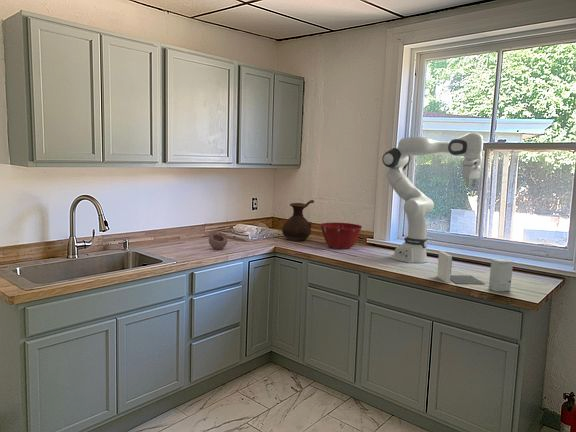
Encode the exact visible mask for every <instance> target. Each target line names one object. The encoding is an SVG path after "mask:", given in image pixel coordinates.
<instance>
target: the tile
mask: <svg viewBox="0 0 576 432" xmlns="http://www.w3.org/2000/svg"><path fill="white" fill-rule="evenodd" d="M437 261H438V262H437V272H436V273H437V274H436V277H437V278H438V279H440V280H441V281H442V280H443V282H444V283H445V284H450V283H451V275H452V269H453V268H452V266H453V256H452V255H451V254H449V253H447V252H446V251H443V250H439V251H438V258H437Z"/></svg>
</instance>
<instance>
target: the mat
mask: <svg viewBox="0 0 576 432" xmlns="http://www.w3.org/2000/svg"><path fill="white" fill-rule="evenodd" d="M450 282H453V283H454V284H456V285H486V283H485V282H482V281H481V280H479V279H478V278H476V277H474V276H472V275H467V274H466V275H464V274H463V275H461V274H460V275H459V274H458V275H454V274H453V275H452V274H451V280H450Z"/></svg>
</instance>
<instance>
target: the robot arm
mask: <svg viewBox="0 0 576 432" xmlns="http://www.w3.org/2000/svg"><path fill="white" fill-rule="evenodd" d="M483 139H484V138H483V135H482V134H480V133H478V132H472V131H471V132H467V133H466V134H464V135H462V136H460V137H458V138H457V137H456V138H454V139H451V140H450V141H440V140H436V139H431V138H427V137H423V136H409V137H408V136H407V137H403V138H401V139H400V140H399V141H398V144H397V147H393V148H391V149H390V150H387V151H386V152H385V153H384V154H383V155H382V164H383V165H384V166H385V167H387V168H388V169H387V170H386V172H385V179H386V180H387V182H388V183H389V185H390V187H391V188H392V189H393V191H394V192H395V193H396V194H397V196H398V197H399V198H400V199H402V200H404V201H405V202H404V205H403V211H404V213H405V214H406V217H407V225H408V226H407V227H408V228H407V237H406V236H405V237H404V238H403V241H404V242H403V243H402V244H400V245H398V246H397V247H396V248H395V249H394V253H393V254H391V255H390V259H393V260H397V261H402V262H404V263H414V264H416V263H418V264H420V263H422V264H423V263H427V262H428V257H427V245H428V238H427V235H428V234H427V233H428V225H427V223H426V218H425V215H427V214H429V213H431V212H432V211H433V209H434V207H435V203H434V200H432V199H431V198H430V197H428V196H426V194H424V193H423V192H422V191H421V190H419V189H418V188H417V187H416V186H415V184H414V183H413V182H412V181H411V180H410V178H408V176H407V175H406V174H405V173H404V170H406V169H407V167H408V165H409V164H410V162H411V159H412V158H411V156H426V155H432V154H437V153H438V154H439V153H446V154H447V153H448V154H449V153H450V154H451V155H452V156H456V157H464V159H463V160H462V161H461V166H462V167H461V178H462V180H465V181H464V182H465V188H468V189H469V188H470V187H472V188H476V187H477V186H476V184H477V182H478V180H479V179H481V175H482V167H481V166H482V162H483V161H482V159H483V155H482V151H483V147H484V140H483ZM471 180H472V182H471Z"/></svg>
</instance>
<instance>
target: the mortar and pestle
mask: <svg viewBox="0 0 576 432" xmlns="http://www.w3.org/2000/svg"><path fill="white" fill-rule="evenodd" d="M208 244H209V246H210V247H211V248H212V249H214V250H221V249H224V248H225V247H226V245H228V238H227V237H226V236H225V235H224V234H223V233H222V232H221V231H219V232H212V233H210V234H209V236H208Z"/></svg>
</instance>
